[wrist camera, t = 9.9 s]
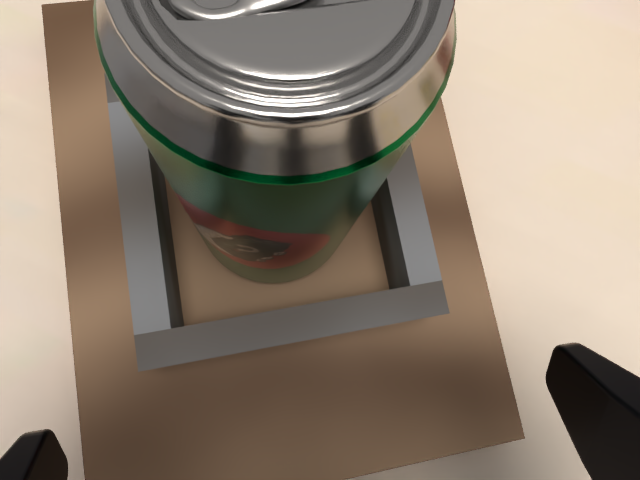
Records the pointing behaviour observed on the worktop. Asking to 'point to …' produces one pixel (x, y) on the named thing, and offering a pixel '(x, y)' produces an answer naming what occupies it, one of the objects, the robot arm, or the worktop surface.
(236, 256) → the soda can
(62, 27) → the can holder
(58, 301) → the worktop surface
